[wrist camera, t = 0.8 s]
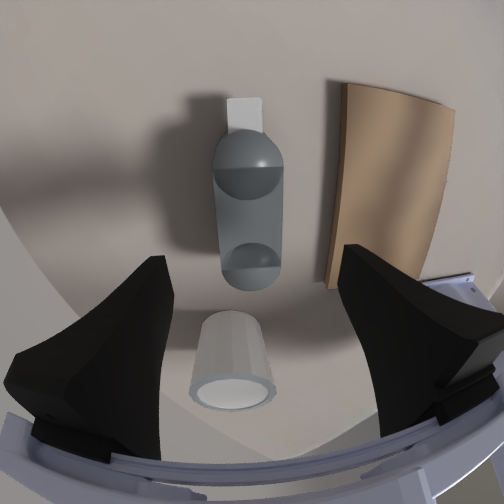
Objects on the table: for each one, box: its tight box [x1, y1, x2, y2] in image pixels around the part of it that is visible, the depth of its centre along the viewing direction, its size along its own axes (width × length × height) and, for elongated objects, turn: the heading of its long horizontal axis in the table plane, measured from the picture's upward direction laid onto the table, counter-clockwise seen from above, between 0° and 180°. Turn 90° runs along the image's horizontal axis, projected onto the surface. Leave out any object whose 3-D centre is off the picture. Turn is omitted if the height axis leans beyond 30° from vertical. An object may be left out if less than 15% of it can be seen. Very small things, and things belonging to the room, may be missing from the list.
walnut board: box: [324, 83, 455, 289], centre depth 18 cm, size 10×16×1 cm, turn 2°
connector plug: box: [212, 98, 284, 291], centre depth 16 cm, size 4×11×4 cm, turn 2°
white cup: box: [189, 310, 277, 412], centre depth 22 cm, size 7×7×7 cm
